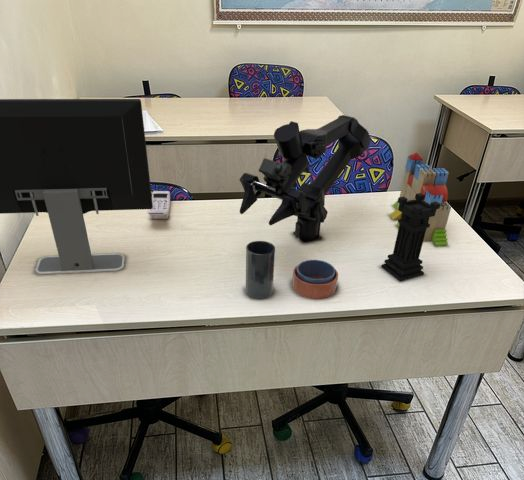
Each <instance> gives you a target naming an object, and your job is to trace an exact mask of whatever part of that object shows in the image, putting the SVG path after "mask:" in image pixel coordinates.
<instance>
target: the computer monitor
mask: <svg viewBox="0 0 524 480" xmlns="http://www.w3.org/2000/svg"><path fill="white" fill-rule="evenodd" d="M143 115H144V114H143V107H142V100H141V99H140V98H0V215H1V214H34V213H35V216H36V217H39V213H47V215H48V219H49V223H50V227H51V231H52V234H53V238H54V239H53V240H54V242H55V246H56V250H57V255H47V256H42V257H40V258H39V259H38V262H37V264H36V266H35V269H34V270H35V273H36V274H39V275H54V274H55V275H56V274H76V273H77V274H78V273H79V274H80V273H97V272H99V273H101V272H118V271H121V270H122V269H123V268H124V267H125V259H126V258H125V255H124V254H122V253H98V254H97V253H96V254H94V253H93V254H92V250H91V247H90V242H89V237H88V231H87V226H86V223H85V217H84V214H87V213H89V212H95V214H96V215H99V212H102V211H103V212H104V211H133V210H134V211H135V210H150V209H152V207H153V204H152V186H151V178H150V169H149V160H148V151H147V141H146V132H145V125H144V116H143Z"/></svg>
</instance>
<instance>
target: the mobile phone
mask: <svg viewBox="0 0 524 480" xmlns="http://www.w3.org/2000/svg"><path fill="white" fill-rule="evenodd" d="M151 195H152V204H153V207H152V209H149V211H146V213H147V214H149V216H150V218H151V219H155V220H158V219H159V220H160V219H162V220H163V219H164V220H165V219H166V220H167V219H168V218H169V214H170V209H171V191H170V190H168V191H167V190H153V191H152V193H151Z"/></svg>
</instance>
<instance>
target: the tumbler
mask: <svg viewBox="0 0 524 480" xmlns="http://www.w3.org/2000/svg"><path fill="white" fill-rule="evenodd" d="M275 259H276V247H275V245H274V244H273V243H271V242H269V241H266V240H254V241H252V242H249V243H248V244H247V245H246V246H245V294H246V296H248V297H250V298H252V299H255V300H264V299H267V298H270V297H271V296H272V295H273V292H274V277H275V275H274V274H275Z"/></svg>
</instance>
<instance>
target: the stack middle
mask: <svg viewBox="0 0 524 480" xmlns="http://www.w3.org/2000/svg"><path fill="white" fill-rule="evenodd" d="M298 264H299V265H298ZM298 264H297V265H298V266H297V265H296V266H297V272H296V276H297V277H298V278H299V279H300V280H302V281H304V282H307V283H310V284H326V283H329V282H331V281H333V280H334V277H335V269H336V268H335V267H334V266H333V264H331V263H329V262H327V261H325V260H320V259H307V260H304V261H301V262H300V263H298ZM334 268H335V269H334ZM307 275H309V276H307ZM314 276H315V277H316V276H321V277H322V278H324V279H322V278H321V279H320V277H319V279H316V278H318V277H316V278H315V277H314ZM309 277H311V278H309ZM312 277H313V279H312ZM314 278H315V279H314Z"/></svg>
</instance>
